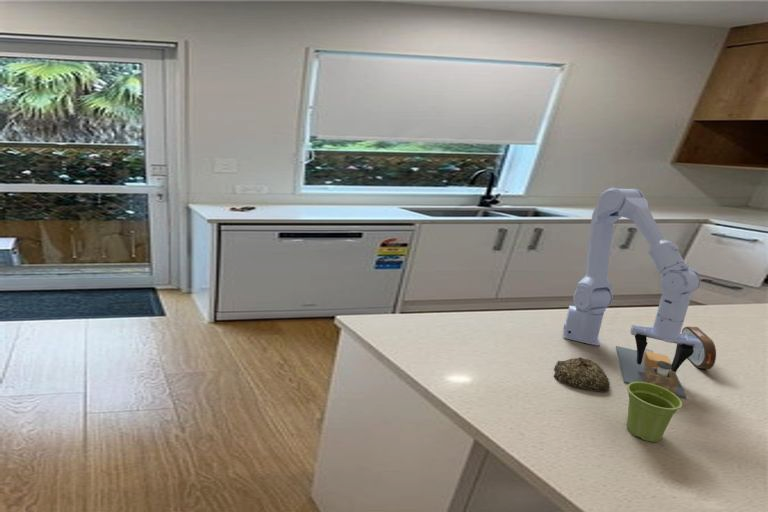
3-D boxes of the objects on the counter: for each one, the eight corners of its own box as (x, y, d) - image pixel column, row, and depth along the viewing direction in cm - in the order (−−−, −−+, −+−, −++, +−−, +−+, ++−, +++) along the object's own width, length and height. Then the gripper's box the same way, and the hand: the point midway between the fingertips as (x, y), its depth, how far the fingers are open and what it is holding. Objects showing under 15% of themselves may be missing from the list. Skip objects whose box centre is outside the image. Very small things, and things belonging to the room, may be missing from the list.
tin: (712, 375, 116) (721, 346, 114) (698, 373, 117) (708, 343, 114) (686, 349, 130) (694, 322, 128) (674, 347, 131) (682, 320, 128)
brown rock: (611, 397, 102) (616, 378, 100) (554, 385, 105) (558, 366, 103) (602, 371, 113) (607, 353, 112) (551, 360, 117) (555, 342, 115)
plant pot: (607, 416, 94) (617, 380, 91) (649, 417, 95) (660, 381, 92) (635, 447, 85) (647, 408, 82) (681, 448, 86) (694, 409, 83)
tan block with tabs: (644, 373, 112) (648, 359, 110) (641, 364, 116) (645, 350, 115) (667, 378, 110) (671, 364, 109) (663, 369, 114) (667, 355, 113)
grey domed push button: (654, 380, 106) (659, 365, 105) (652, 375, 108) (657, 359, 107) (668, 384, 105) (672, 368, 104) (665, 378, 107) (670, 362, 106)
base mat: (624, 383, 108) (624, 381, 108) (615, 347, 127) (616, 345, 127) (686, 398, 104) (686, 396, 103) (668, 359, 122) (668, 357, 122)
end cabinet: (645, 387, 106) (649, 374, 105) (642, 377, 110) (646, 364, 109) (674, 394, 104) (679, 381, 103) (670, 384, 108) (674, 371, 107)
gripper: (639, 315, 107) (625, 366, 111) (709, 330, 103) (693, 382, 106) (635, 306, 114) (622, 354, 118) (701, 319, 109) (686, 368, 113)
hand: (655, 366), depth 112 cm, fingers open, 7 cm apart
